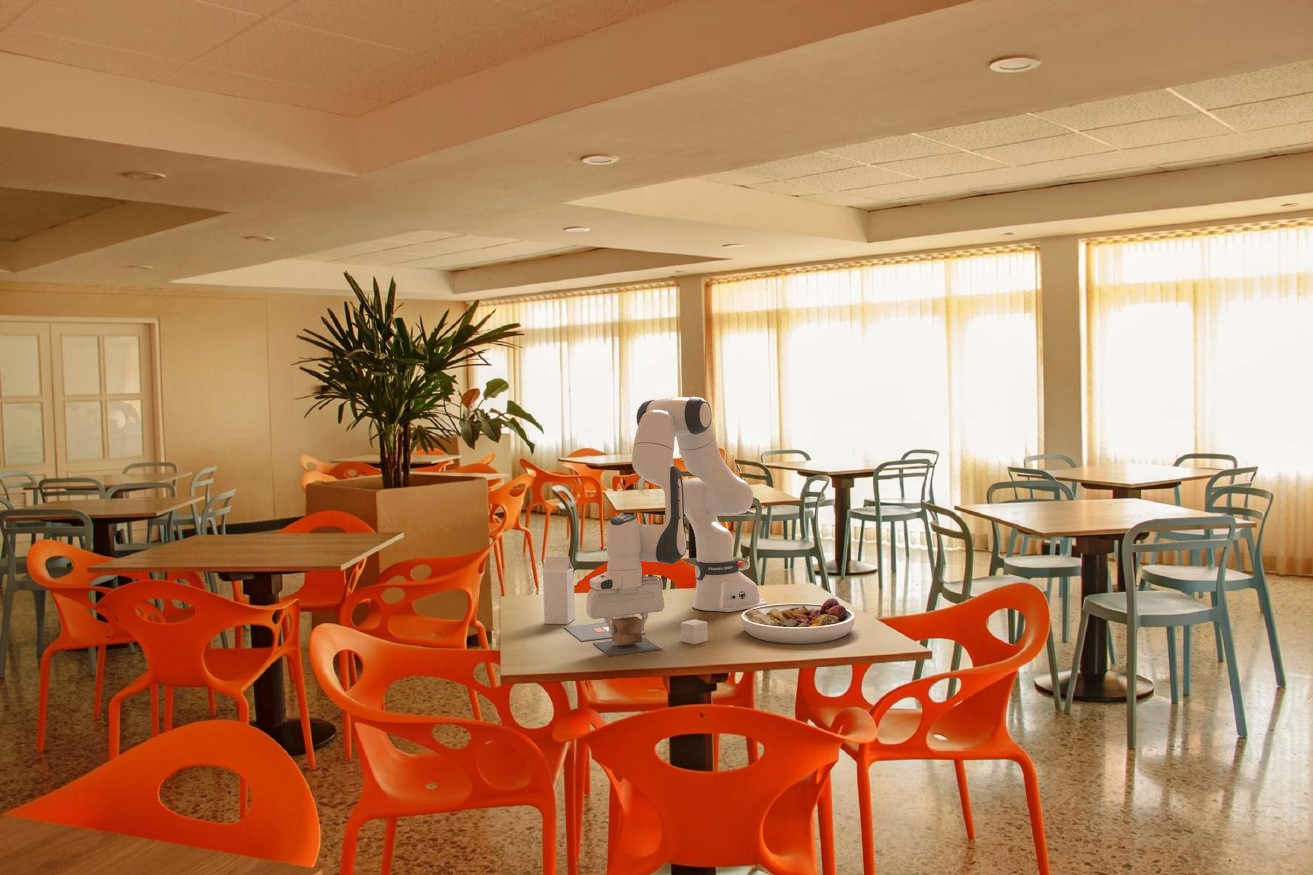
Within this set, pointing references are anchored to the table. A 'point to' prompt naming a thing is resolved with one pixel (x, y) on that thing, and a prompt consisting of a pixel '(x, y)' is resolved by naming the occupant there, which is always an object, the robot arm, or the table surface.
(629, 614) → the robot arm
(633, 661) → the table surface
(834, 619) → the bowl
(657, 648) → the mat
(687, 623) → the beige block
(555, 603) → the milk carton
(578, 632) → the tile
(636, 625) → the walnut block
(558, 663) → the table surface
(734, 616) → the table surface
